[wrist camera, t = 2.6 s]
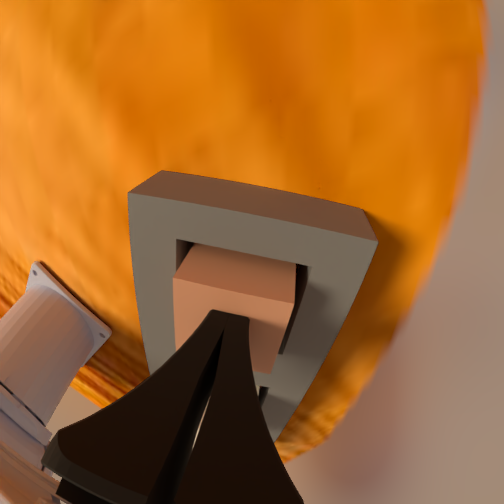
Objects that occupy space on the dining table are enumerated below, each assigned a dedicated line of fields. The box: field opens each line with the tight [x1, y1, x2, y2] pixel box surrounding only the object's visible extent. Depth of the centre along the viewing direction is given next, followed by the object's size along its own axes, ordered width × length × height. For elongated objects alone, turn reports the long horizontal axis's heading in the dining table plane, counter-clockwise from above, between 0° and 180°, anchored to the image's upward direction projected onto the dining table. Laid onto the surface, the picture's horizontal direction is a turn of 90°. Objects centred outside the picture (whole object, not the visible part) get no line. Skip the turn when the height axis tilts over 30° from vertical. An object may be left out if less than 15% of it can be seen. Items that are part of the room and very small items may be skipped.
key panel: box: [128, 170, 378, 442], centre depth 17 cm, size 24×9×3 cm, turn 171°
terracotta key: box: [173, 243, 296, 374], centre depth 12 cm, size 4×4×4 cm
